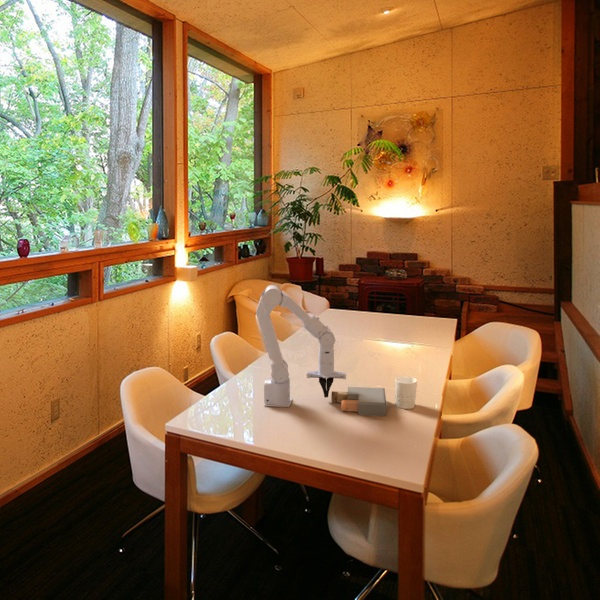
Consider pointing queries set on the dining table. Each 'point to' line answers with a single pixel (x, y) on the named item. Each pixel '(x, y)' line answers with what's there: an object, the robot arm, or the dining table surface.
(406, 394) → the white cup
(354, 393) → the box
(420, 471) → the dining table surface
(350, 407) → the orange knob
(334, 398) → the walnut knob
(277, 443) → the dining table surface
